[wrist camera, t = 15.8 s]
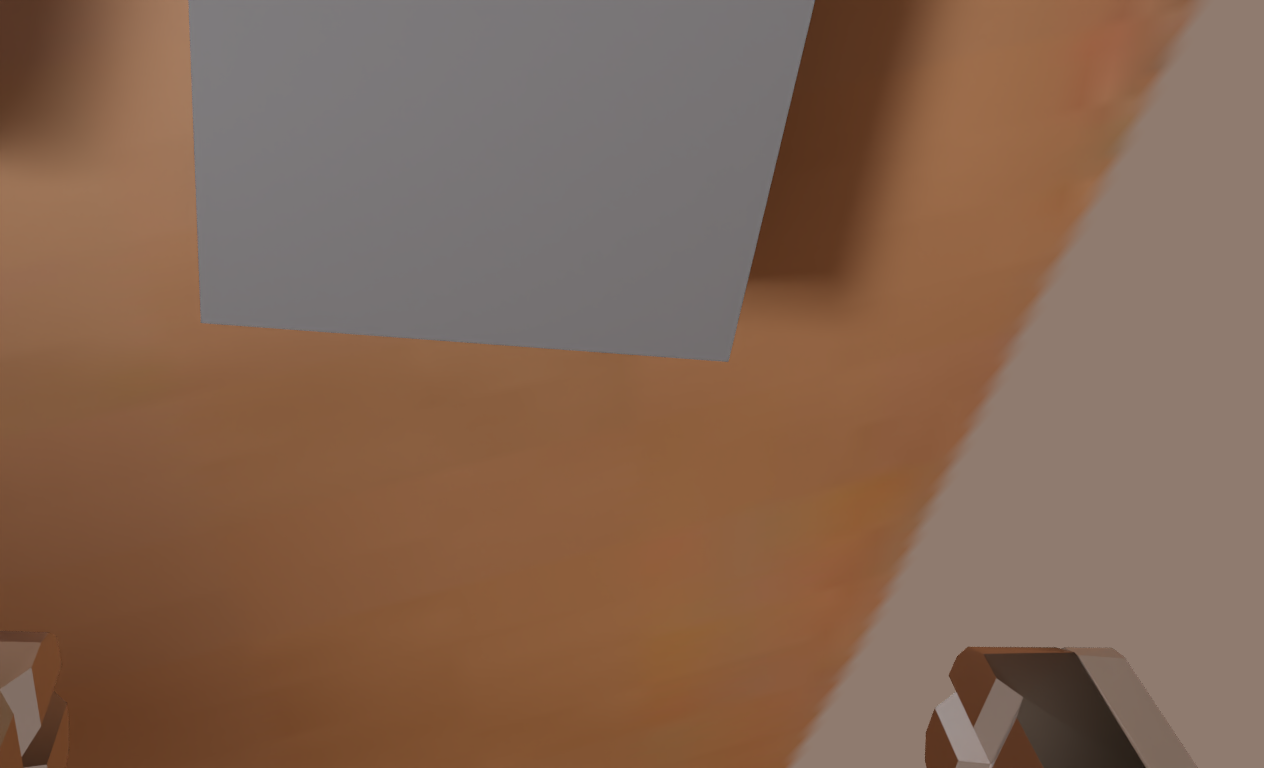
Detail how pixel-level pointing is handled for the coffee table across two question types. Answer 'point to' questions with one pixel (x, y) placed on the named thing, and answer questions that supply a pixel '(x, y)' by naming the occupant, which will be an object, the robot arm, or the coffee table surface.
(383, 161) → the slate block
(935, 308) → the coffee table surface
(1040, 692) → the robot arm
